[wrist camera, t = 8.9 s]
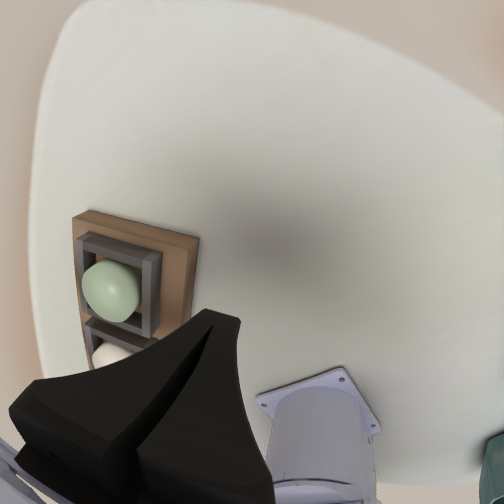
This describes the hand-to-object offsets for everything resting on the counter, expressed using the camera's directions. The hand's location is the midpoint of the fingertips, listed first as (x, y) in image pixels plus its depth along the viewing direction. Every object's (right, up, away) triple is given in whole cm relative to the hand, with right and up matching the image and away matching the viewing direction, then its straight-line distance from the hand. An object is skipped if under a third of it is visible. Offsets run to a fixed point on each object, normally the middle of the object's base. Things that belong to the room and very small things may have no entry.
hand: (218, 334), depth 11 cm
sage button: (-8, +1, +9) cm, 12 cm away
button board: (-8, -4, +14) cm, 17 cm away
